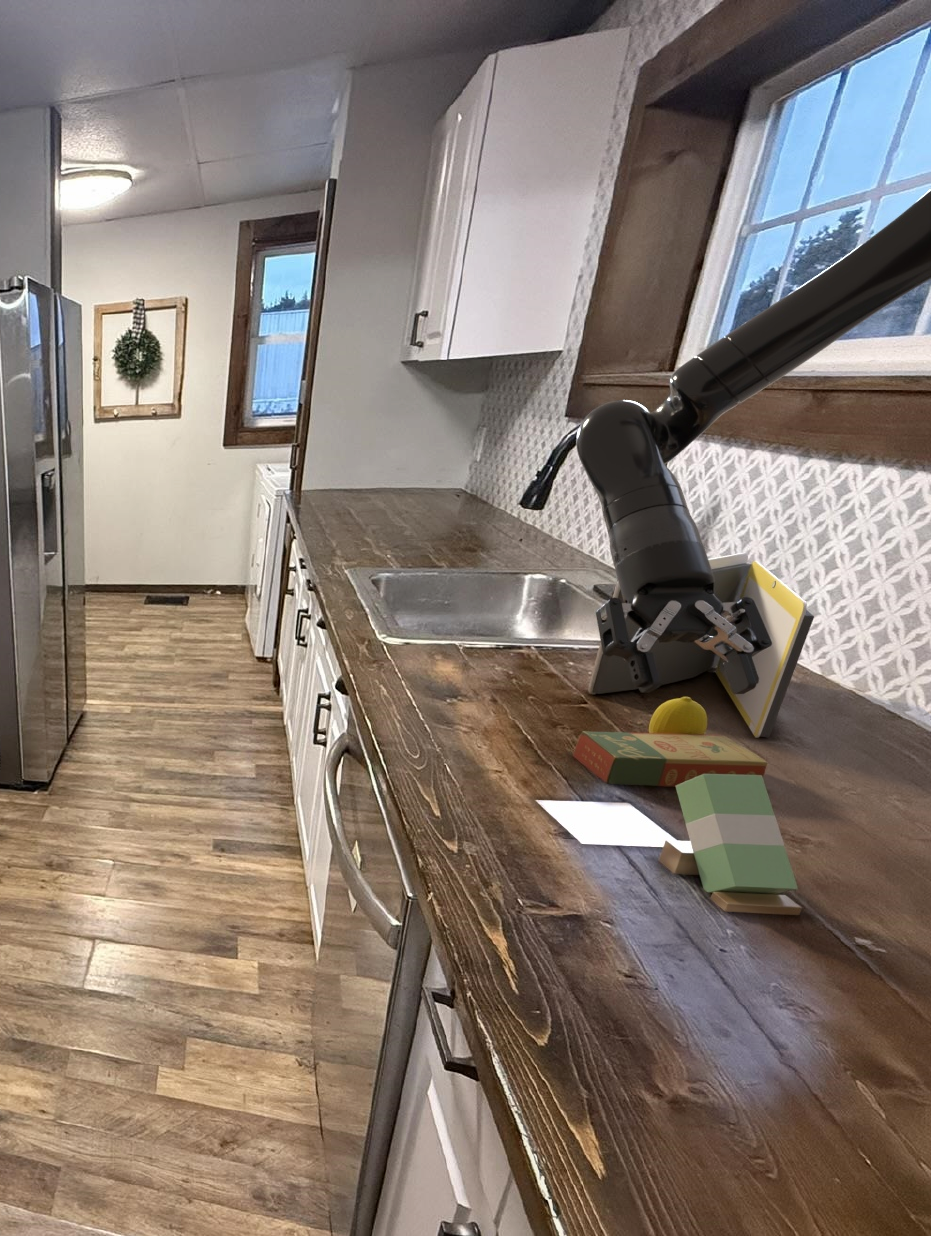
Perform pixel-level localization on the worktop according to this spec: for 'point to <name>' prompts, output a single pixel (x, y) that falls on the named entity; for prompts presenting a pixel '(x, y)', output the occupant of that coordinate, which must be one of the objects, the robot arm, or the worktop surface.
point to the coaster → (606, 823)
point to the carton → (663, 757)
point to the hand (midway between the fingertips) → (697, 690)
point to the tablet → (689, 659)
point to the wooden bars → (684, 862)
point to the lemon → (679, 717)
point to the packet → (735, 835)
